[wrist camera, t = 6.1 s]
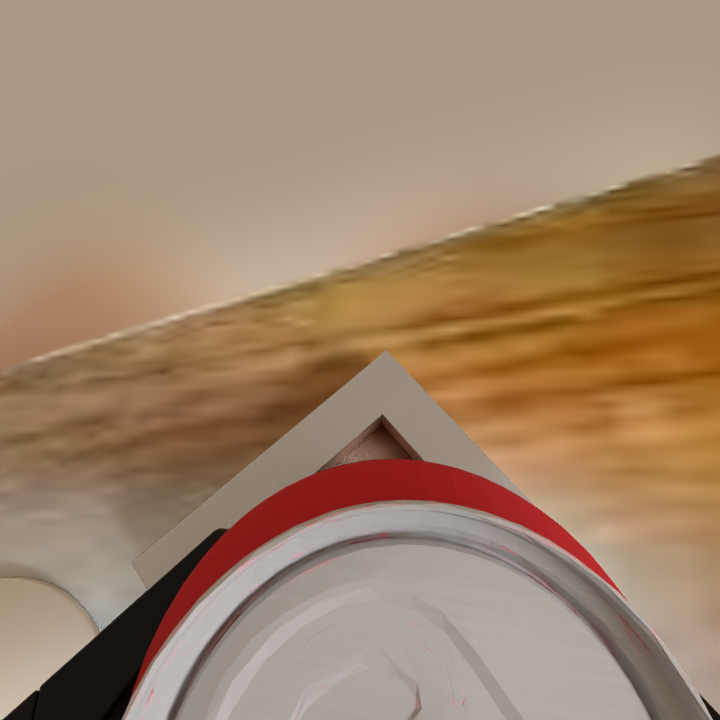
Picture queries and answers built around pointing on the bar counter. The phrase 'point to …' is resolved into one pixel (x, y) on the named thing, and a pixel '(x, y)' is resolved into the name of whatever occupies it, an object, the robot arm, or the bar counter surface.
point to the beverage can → (404, 613)
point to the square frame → (329, 454)
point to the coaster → (36, 636)
